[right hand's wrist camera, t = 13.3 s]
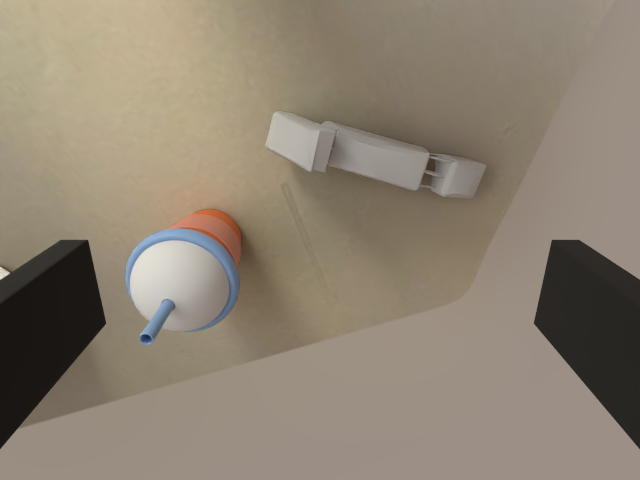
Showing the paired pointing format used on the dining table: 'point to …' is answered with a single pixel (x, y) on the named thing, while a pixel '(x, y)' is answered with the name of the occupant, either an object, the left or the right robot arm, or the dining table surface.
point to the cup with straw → (186, 274)
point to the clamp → (370, 156)
